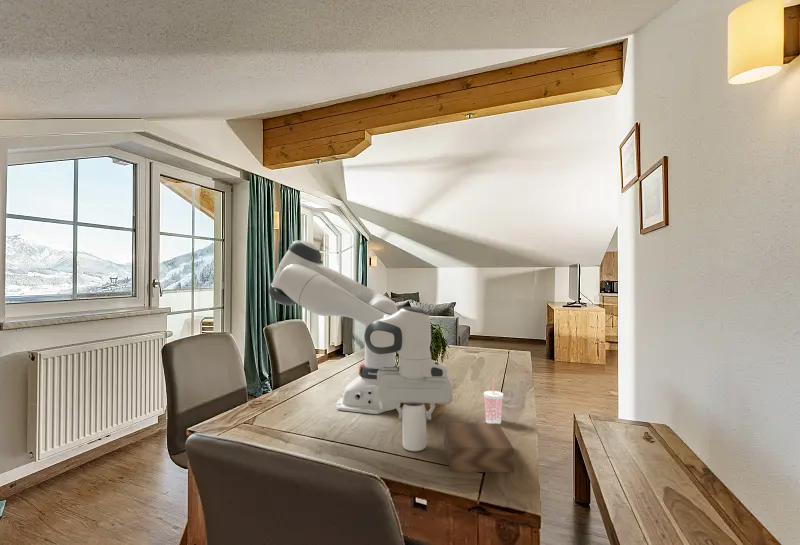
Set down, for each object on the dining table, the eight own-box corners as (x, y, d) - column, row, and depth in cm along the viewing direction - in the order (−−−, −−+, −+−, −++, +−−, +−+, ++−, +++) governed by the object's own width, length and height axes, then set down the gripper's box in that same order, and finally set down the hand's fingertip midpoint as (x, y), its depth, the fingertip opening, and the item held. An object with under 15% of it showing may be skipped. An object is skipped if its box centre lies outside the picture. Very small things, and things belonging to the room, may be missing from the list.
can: (424, 453, 99) (424, 407, 99) (400, 451, 101) (399, 405, 101) (427, 442, 106) (427, 399, 106) (405, 440, 107) (404, 397, 107)
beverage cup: (499, 417, 124) (499, 374, 124) (506, 425, 118) (506, 379, 118) (480, 418, 124) (480, 375, 124) (487, 426, 118) (487, 380, 118)
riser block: (449, 472, 90) (449, 447, 91) (444, 444, 105) (444, 422, 106) (513, 473, 90) (513, 448, 90) (498, 445, 105) (498, 423, 105)
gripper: (375, 369, 101) (375, 421, 101) (452, 370, 99) (453, 424, 99) (378, 363, 107) (378, 413, 107) (451, 365, 106) (452, 415, 106)
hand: (415, 418), depth 103 cm, fingers closed on can, 6 cm apart
